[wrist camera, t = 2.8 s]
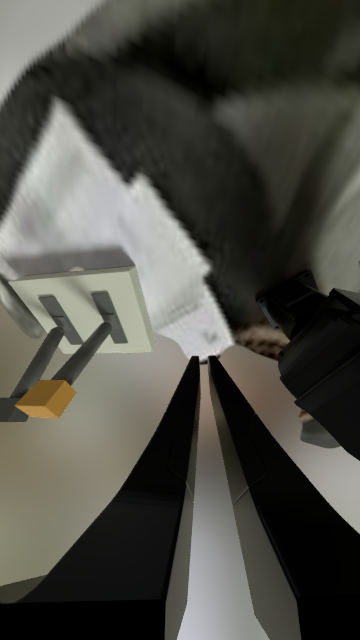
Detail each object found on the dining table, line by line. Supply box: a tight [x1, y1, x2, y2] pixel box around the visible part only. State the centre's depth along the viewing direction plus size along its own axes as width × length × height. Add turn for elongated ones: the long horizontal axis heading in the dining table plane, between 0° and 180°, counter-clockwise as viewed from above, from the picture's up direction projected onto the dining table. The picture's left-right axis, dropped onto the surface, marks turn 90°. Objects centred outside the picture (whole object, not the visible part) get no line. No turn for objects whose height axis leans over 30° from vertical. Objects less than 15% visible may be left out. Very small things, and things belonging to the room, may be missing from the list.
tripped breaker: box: [14, 322, 113, 418], centre depth 15 cm, size 2×2×11 cm
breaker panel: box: [0, 266, 155, 422], centre depth 17 cm, size 16×13×14 cm
